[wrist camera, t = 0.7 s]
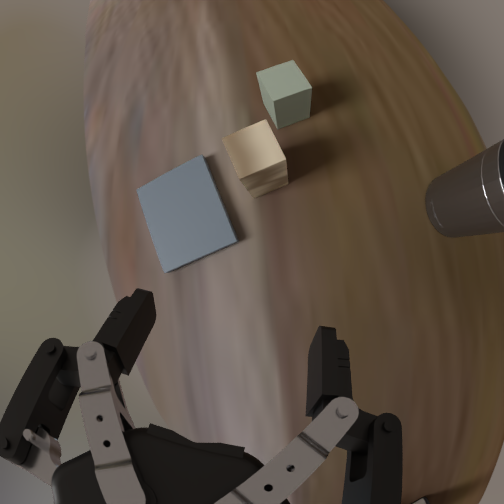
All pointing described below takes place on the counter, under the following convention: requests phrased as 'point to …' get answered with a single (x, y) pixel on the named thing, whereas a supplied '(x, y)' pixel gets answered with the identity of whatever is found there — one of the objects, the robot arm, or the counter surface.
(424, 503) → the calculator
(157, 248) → the slate board
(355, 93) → the counter surface
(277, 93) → the sage block
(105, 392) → the robot arm
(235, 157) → the birch block
